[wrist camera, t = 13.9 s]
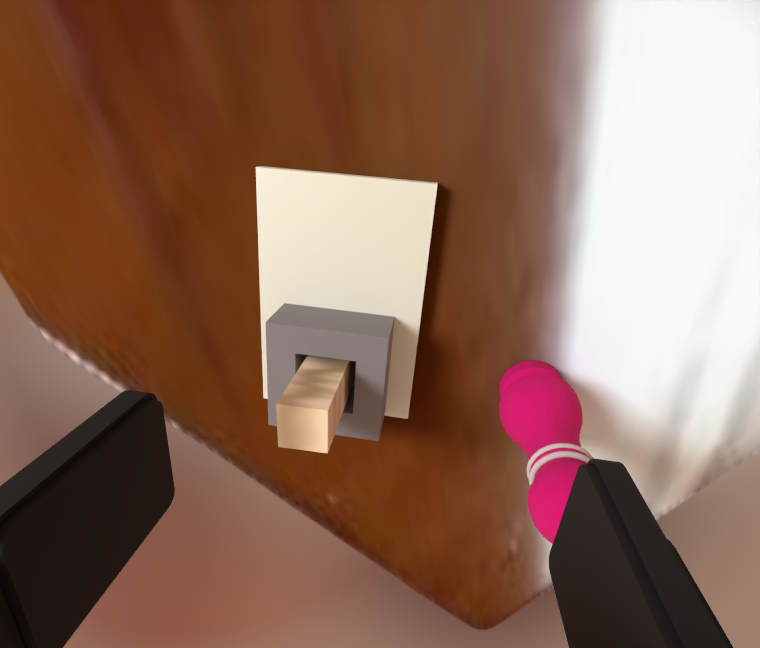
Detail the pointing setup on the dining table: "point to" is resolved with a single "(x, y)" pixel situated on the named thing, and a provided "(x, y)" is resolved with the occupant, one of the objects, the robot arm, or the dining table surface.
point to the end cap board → (343, 284)
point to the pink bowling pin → (544, 437)
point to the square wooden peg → (314, 403)
